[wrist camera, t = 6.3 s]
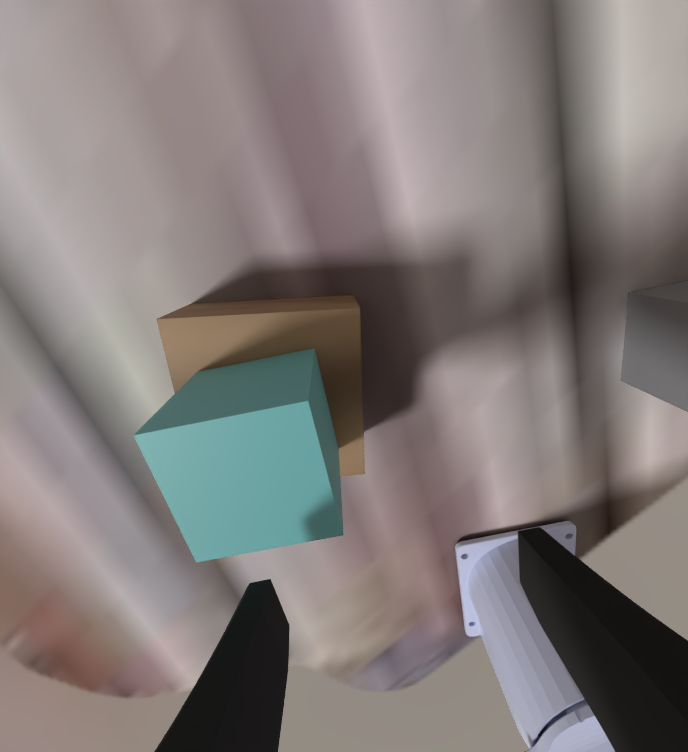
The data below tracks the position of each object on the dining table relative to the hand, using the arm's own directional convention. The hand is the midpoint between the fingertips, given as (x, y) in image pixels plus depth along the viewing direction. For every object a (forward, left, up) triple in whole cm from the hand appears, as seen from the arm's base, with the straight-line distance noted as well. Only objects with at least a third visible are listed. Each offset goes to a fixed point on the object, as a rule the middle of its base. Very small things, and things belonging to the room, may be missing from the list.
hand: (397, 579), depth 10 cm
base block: (+3, +4, -11) cm, 12 cm away
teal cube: (+3, +4, -7) cm, 8 cm away
